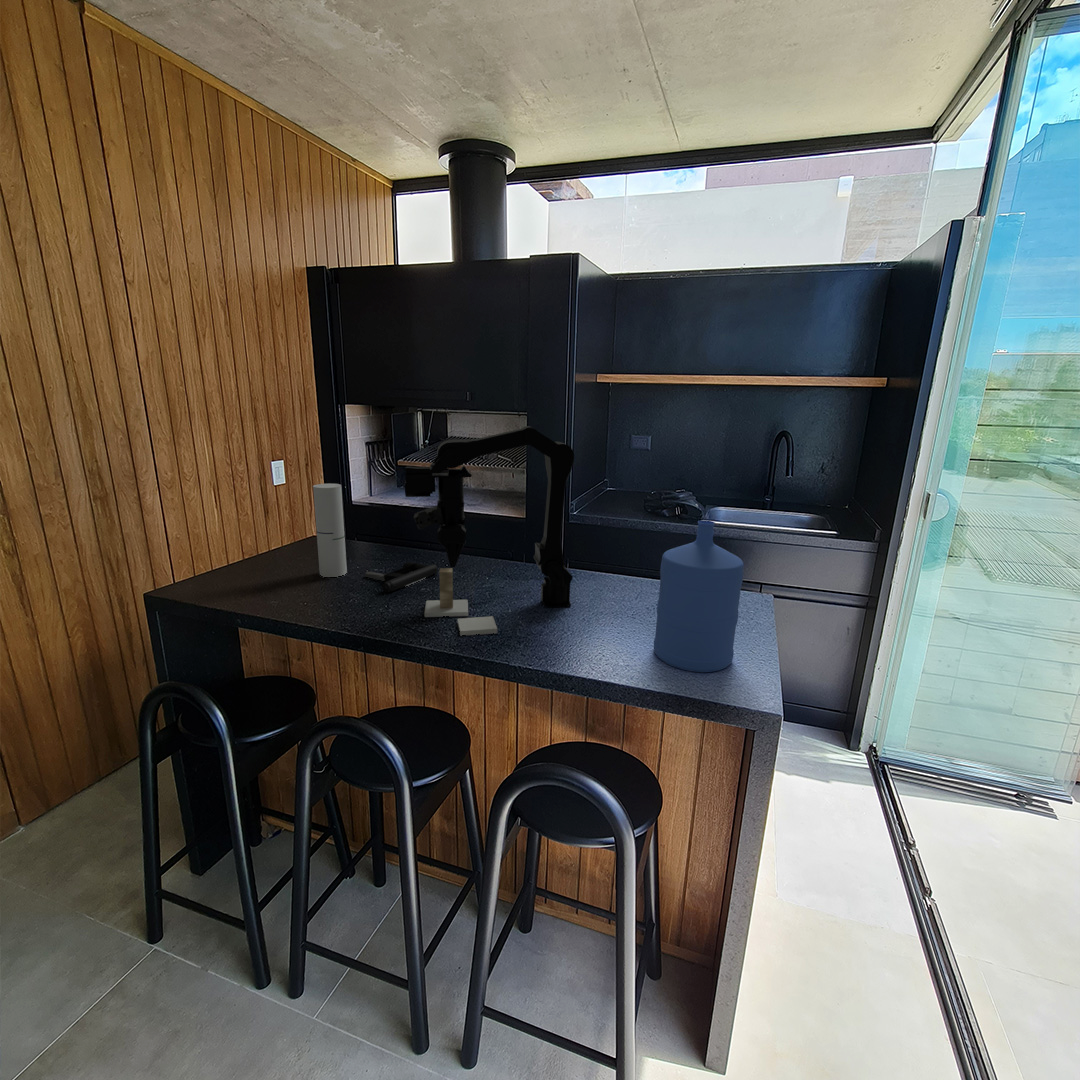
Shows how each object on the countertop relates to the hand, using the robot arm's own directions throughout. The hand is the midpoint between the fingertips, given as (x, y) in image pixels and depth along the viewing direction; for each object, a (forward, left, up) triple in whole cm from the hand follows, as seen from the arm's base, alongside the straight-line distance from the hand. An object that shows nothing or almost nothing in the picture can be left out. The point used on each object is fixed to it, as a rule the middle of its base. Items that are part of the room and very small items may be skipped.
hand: (452, 561), depth 134 cm
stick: (+2, +1, -11) cm, 11 cm away
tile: (-5, +9, -12) cm, 16 cm away
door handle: (+16, -23, -12) cm, 30 cm away
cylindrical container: (+34, -27, -12) cm, 45 cm away
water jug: (-48, +30, -12) cm, 58 cm away
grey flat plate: (+2, +2, -12) cm, 12 cm away
